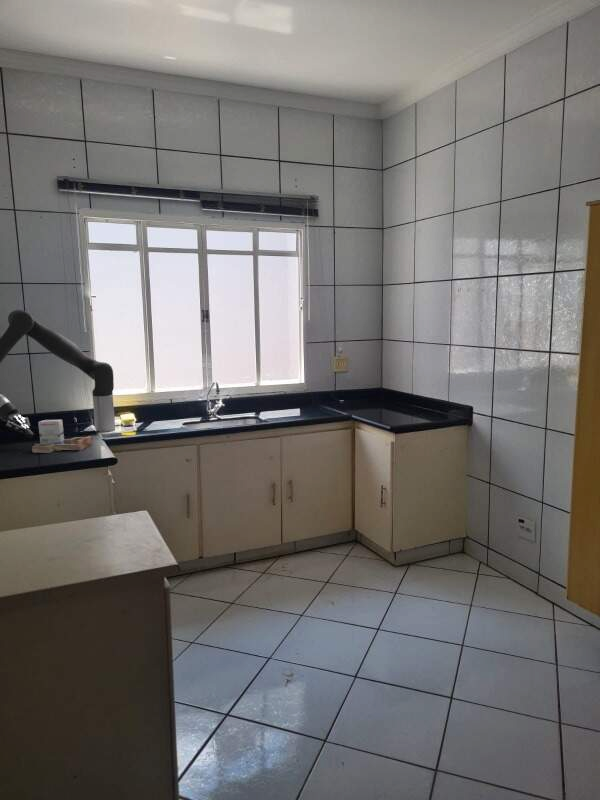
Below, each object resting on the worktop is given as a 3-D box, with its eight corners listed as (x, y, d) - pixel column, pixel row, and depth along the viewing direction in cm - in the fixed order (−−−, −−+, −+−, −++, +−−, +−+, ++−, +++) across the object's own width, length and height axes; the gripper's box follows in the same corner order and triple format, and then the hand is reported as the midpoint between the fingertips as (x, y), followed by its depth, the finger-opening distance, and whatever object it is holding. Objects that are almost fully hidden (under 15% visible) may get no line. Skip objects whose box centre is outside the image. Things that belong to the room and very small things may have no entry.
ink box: (65, 446, 245) (63, 419, 243) (60, 448, 240) (58, 421, 238) (45, 446, 244) (42, 419, 243) (40, 449, 240) (37, 421, 238)
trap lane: (54, 442, 252) (53, 433, 251) (97, 443, 249) (96, 434, 248) (28, 452, 234) (27, 442, 233) (74, 453, 231) (73, 443, 230)
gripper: (-3, 403, 236) (27, 433, 236) (18, 399, 249) (46, 427, 249) (-13, 416, 237) (16, 445, 237) (8, 411, 250) (36, 439, 250)
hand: (31, 436), depth 243 cm, fingers closed
